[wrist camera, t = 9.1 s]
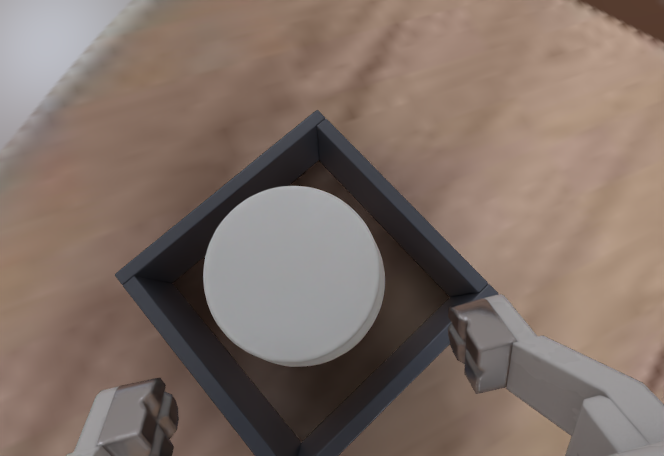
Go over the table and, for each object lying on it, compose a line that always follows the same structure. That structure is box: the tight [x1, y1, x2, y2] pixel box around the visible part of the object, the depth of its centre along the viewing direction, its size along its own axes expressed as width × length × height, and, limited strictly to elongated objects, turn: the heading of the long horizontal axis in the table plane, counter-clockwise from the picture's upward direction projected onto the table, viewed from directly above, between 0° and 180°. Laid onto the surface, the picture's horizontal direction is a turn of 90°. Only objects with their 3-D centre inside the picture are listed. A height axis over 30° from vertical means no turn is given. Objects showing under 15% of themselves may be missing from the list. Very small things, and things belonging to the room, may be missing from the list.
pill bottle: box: [203, 186, 385, 367], centre depth 15 cm, size 6×6×10 cm
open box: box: [115, 110, 499, 456], centre depth 18 cm, size 11×11×4 cm
